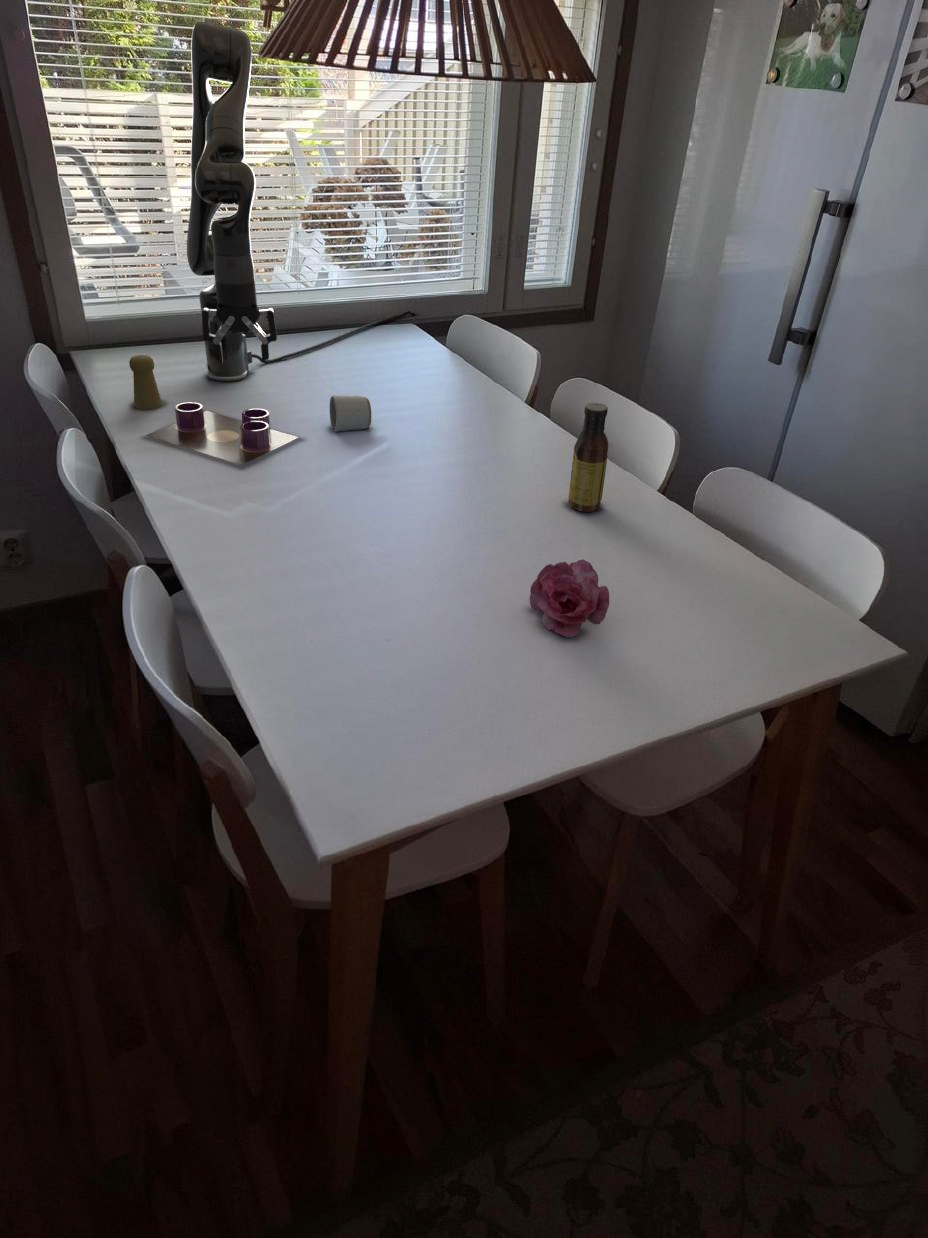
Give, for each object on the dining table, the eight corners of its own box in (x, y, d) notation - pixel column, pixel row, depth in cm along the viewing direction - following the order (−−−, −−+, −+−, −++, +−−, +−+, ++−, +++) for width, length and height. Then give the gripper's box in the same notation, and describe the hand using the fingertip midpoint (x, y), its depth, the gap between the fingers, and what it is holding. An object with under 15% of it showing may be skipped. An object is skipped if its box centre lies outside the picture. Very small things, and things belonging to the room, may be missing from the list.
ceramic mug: (373, 433, 187) (372, 399, 182) (336, 436, 184) (335, 402, 180) (361, 417, 195) (360, 384, 191) (325, 420, 192) (324, 386, 188)
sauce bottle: (581, 496, 166) (595, 396, 155) (607, 507, 162) (623, 406, 151) (559, 505, 162) (572, 404, 151) (585, 517, 159) (600, 414, 147)
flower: (574, 660, 126) (544, 619, 120) (542, 629, 134) (512, 589, 128) (633, 610, 127) (605, 567, 120) (597, 582, 134) (569, 540, 128)
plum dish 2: (255, 426, 185) (254, 406, 183) (276, 432, 183) (274, 412, 181) (238, 434, 181) (236, 414, 179) (258, 440, 179) (257, 420, 177)
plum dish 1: (205, 421, 186) (203, 401, 184) (204, 431, 182) (201, 411, 179) (178, 422, 185) (176, 402, 183) (176, 431, 181) (173, 411, 178)
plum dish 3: (254, 438, 180) (253, 418, 177) (275, 444, 178) (274, 424, 175) (236, 447, 176) (234, 426, 173) (257, 453, 173) (256, 433, 171)
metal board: (207, 413, 192) (207, 410, 192) (299, 439, 182) (299, 437, 182) (146, 437, 179) (145, 435, 178) (241, 468, 169) (241, 465, 168)
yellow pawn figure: (157, 410, 192) (149, 361, 186) (130, 408, 192) (122, 359, 186) (165, 400, 197) (158, 352, 191) (139, 399, 197) (131, 351, 191)
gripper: (195, 281, 161) (205, 367, 169) (272, 282, 163) (278, 367, 172) (198, 273, 167) (207, 356, 176) (272, 273, 169) (278, 356, 178)
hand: (242, 361), depth 174 cm, fingers open, 8 cm apart
